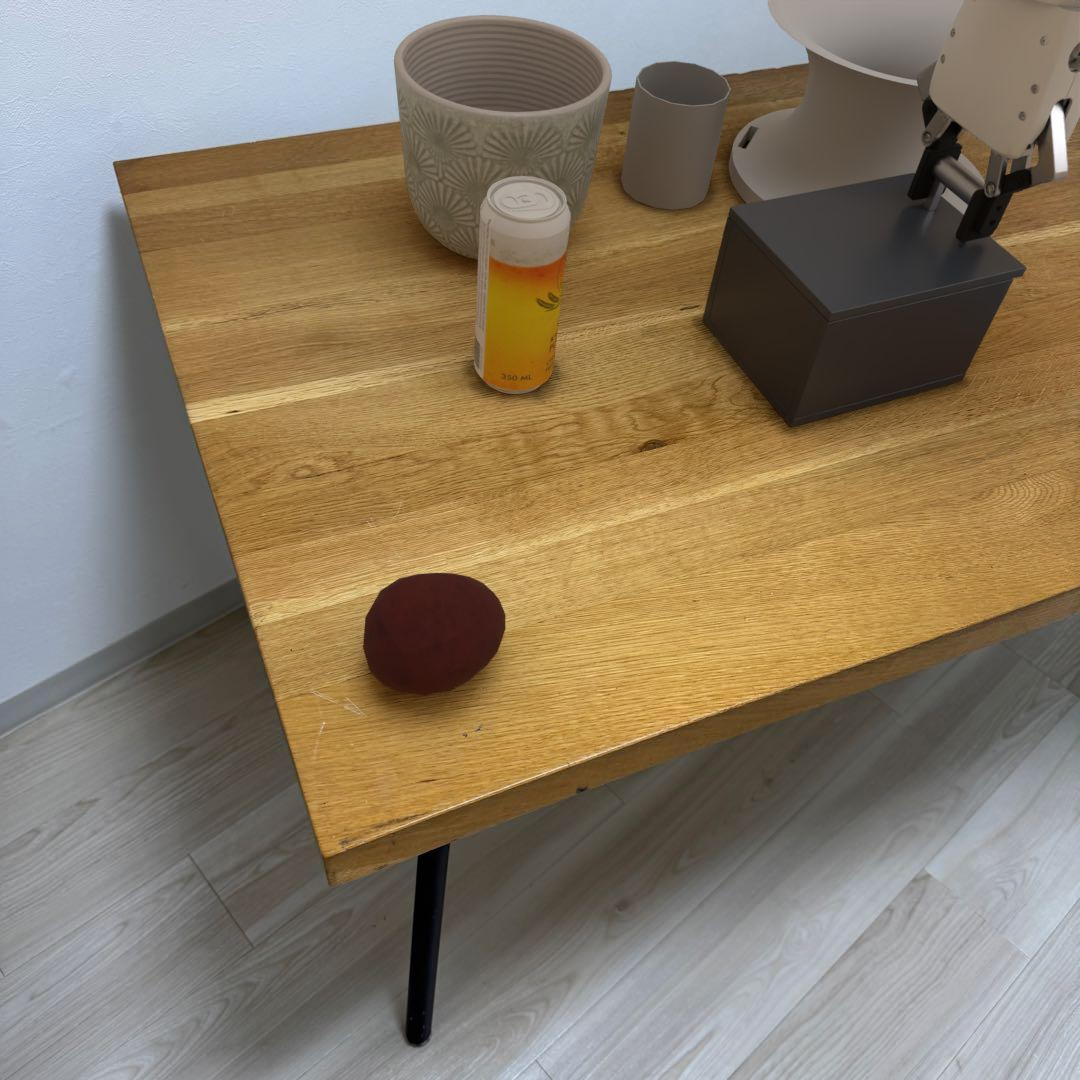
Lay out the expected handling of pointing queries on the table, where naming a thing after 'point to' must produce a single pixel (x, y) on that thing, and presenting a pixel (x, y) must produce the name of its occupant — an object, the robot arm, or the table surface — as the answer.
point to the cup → (674, 134)
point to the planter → (495, 116)
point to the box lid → (876, 242)
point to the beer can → (520, 282)
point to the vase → (847, 98)
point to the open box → (837, 338)
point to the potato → (432, 632)
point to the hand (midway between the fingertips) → (949, 214)
